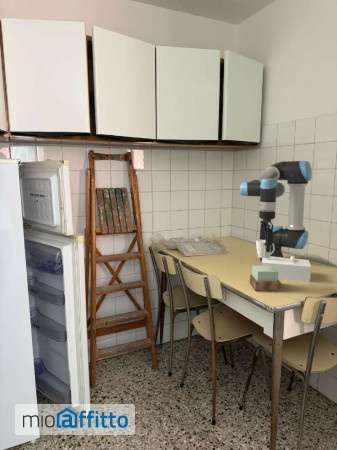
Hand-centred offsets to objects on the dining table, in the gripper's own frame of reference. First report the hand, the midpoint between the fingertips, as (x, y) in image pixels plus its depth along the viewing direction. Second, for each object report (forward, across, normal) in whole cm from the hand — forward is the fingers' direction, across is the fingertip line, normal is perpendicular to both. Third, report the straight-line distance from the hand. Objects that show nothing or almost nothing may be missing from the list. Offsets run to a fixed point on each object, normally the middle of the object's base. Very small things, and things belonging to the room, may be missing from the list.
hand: (264, 256), depth 154 cm
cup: (+1, 0, 0) cm, 1 cm away
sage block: (+11, 0, 0) cm, 11 cm away
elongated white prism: (+16, -19, +17) cm, 30 cm away
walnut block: (+16, 0, 0) cm, 16 cm away
